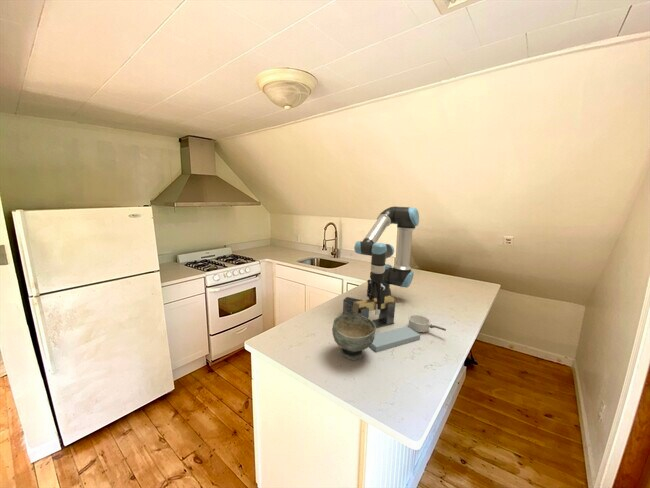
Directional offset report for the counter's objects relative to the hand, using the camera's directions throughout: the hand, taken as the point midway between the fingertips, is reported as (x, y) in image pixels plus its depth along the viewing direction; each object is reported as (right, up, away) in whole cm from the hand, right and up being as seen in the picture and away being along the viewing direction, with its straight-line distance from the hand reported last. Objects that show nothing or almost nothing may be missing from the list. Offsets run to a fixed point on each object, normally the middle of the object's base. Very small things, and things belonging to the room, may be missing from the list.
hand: (374, 312), depth 150 cm
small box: (-11, -6, +11) cm, 17 cm away
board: (+6, -11, -14) cm, 19 cm away
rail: (0, +2, 0) cm, 2 cm away
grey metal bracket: (0, -8, +1) cm, 8 cm away
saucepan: (+27, -10, -4) cm, 29 cm away
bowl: (-15, -13, -27) cm, 33 cm away
